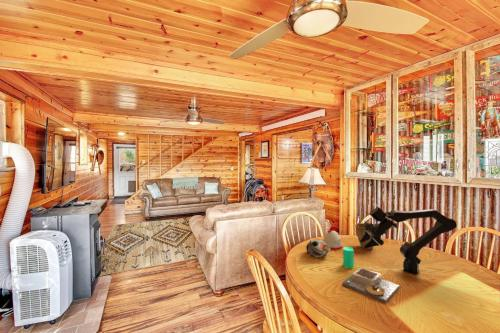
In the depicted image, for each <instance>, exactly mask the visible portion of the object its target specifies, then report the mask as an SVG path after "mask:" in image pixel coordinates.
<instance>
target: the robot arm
mask: <svg viewBox="0 0 500 333" xmlns="http://www.w3.org/2000/svg"><path fill="white" fill-rule="evenodd" d="M368 215H370V216H371V217H372V219H374V220H375V221H376V222H377V223H375V224H374V223H372V222H368V221H366V220H365V221H364V222H363V223H364V224H363V226H364V227H365V228H364V229H365V230H364V235H363V237H362V238H361V240H360V242H361V243H362V242H364V241H367V240H369V239H370V240H369V241H368V242H367V244H366V245H365V246H364V248H369V247H373V248H374V247H378V246H379V247H380V246H383V245H384V244H385V241H384V240H383V239H382V236H383V235H387V232H388V231H389V230H391V229H392V227H394V228H395V229H398V223H402V222H406V221H408V220H412V219H413V220H414V219H423V218H424V219H427V218H432V219H434V220H435V223H434V224H433V226H432V227H431V228H429V230H427V231H426V232H425V233H423V234H422V235H421V236H419V237H418V238H417V239H415V240H414V241H413V242H408V241H405V242H404V243H402V244H401V245H400V248H399V252H400V253H401V255H402V256H403V257H404V260H403V261H402V262H403V263H402V265H403V267H402V268H403V269H402V270H403V271H404V272H407V273H410V274H412V275H413V274H414V275H418V274H419V273H420V271H421V270H420V264H421V262H422V260H421V259H420V258H419V257H418V255H419V253H420V251H421V250H422V249H423V248H425V247H426V246H427V245H429V244H430V243H431V242H432V241H433V240H435V239H436V238H438V237H439V236H441V234H444V233H448V232H451V231H453V230H455V229H456V228H457V227H458V225H457V221H456V220H454V219H452V218H450V217H447V216H446V215H443V214H442V213H440V212H439V211H438V210H436V209H434V208H428V209H420V210H418V209H417V210H407V211H405V210H398V209H397V210H396V209H393V210H390V211H385V212H384V211H383V209H381V207H379V206H377V207H375V208H373V209H372V210H370V211H369V213H368ZM378 222H379V223H378ZM371 236H372V237H373V238H372V237H371ZM360 242H359V243H360ZM364 248H363V249H364Z"/></svg>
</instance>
